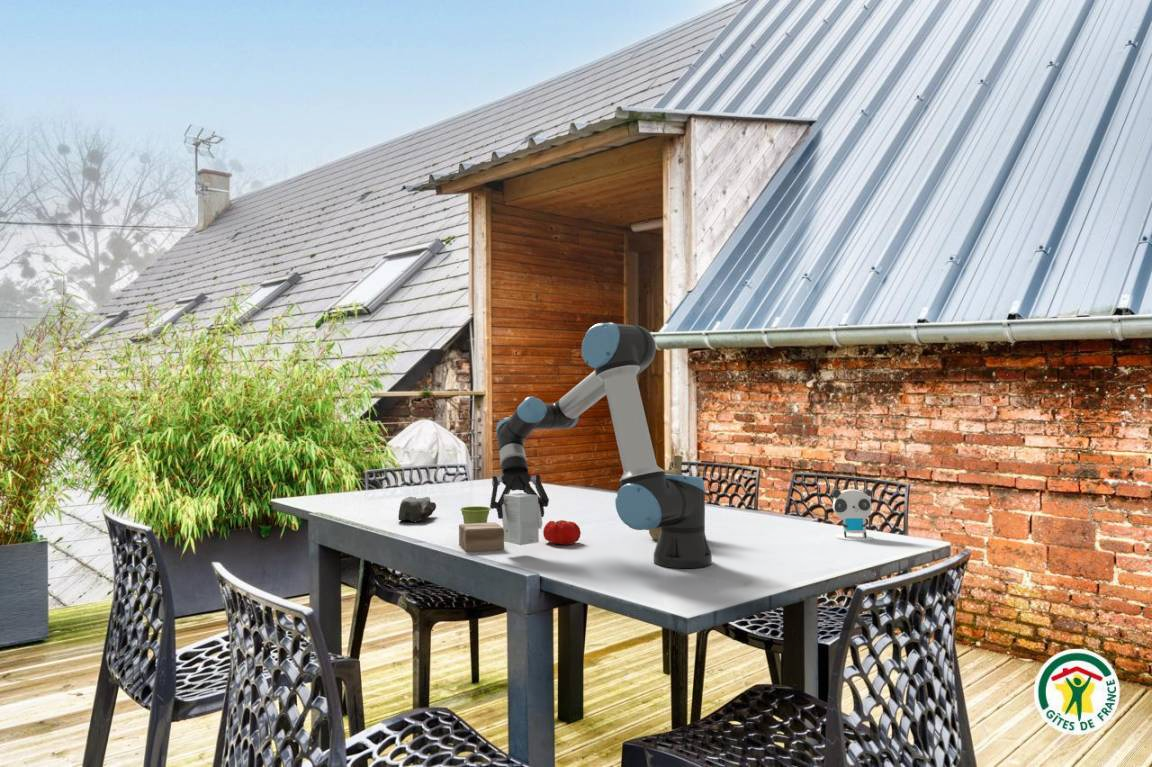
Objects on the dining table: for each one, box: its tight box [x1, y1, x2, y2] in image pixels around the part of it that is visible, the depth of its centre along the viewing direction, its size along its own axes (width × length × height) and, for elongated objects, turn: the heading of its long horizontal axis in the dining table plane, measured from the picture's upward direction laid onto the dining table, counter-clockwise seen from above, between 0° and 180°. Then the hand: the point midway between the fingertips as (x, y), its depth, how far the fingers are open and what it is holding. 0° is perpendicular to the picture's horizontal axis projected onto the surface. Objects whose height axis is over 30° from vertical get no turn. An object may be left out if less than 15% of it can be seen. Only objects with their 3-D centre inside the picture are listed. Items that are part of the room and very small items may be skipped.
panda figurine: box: [830, 488, 874, 542], centre depth 252 cm, size 12×11×15 cm
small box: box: [503, 492, 540, 546], centre depth 224 cm, size 8×6×13 cm
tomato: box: [542, 519, 581, 546], centre depth 243 cm, size 10×11×6 cm
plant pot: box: [460, 505, 492, 524], centre depth 255 cm, size 9×9×9 cm
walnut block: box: [458, 521, 505, 553], centre depth 237 cm, size 11×11×6 cm
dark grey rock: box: [397, 496, 437, 522], centre depth 288 cm, size 18×11×8 cm, turn 0°
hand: (523, 526), depth 221 cm, fingers closed on small box, 9 cm apart
